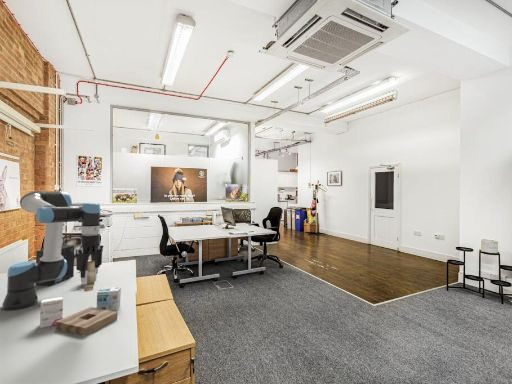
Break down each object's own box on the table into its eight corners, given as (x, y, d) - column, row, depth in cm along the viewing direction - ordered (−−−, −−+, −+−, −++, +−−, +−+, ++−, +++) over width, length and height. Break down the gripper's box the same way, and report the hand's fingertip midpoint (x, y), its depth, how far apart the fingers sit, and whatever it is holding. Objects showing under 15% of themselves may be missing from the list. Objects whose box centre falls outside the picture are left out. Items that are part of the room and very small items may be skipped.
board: (55, 329, 125) (55, 321, 125) (90, 313, 142) (90, 306, 142) (84, 336, 119) (85, 328, 120) (117, 318, 137) (117, 311, 137)
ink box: (62, 319, 134) (63, 296, 135) (62, 323, 130) (63, 299, 131) (40, 324, 130) (41, 299, 130) (39, 328, 126) (40, 302, 126)
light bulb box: (95, 312, 144) (96, 292, 144) (99, 307, 150) (100, 288, 151) (117, 310, 147) (118, 290, 147) (120, 305, 153) (121, 286, 153)
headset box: (51, 286, 183) (52, 248, 184) (34, 285, 184) (35, 247, 184) (74, 276, 206) (75, 242, 206) (59, 276, 206) (60, 242, 207)
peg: (81, 290, 130) (82, 261, 130) (89, 288, 134) (90, 259, 134) (88, 292, 128) (89, 262, 128) (96, 289, 132) (97, 260, 133)
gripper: (79, 237, 122) (77, 289, 122) (111, 232, 139) (109, 278, 138) (67, 236, 125) (65, 287, 124) (99, 232, 141) (98, 276, 141)
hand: (89, 282), depth 131 cm, fingers closed on peg, 4 cm apart
